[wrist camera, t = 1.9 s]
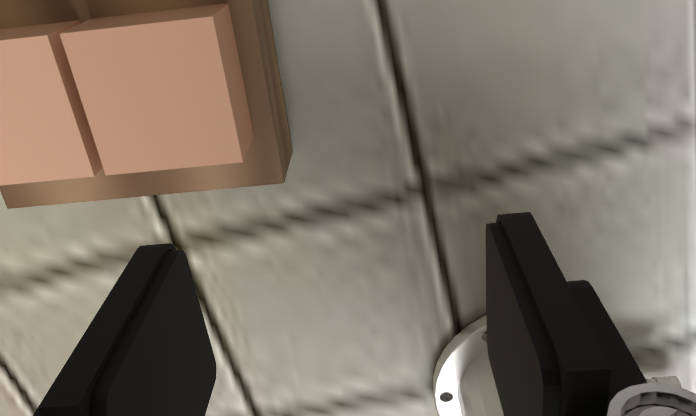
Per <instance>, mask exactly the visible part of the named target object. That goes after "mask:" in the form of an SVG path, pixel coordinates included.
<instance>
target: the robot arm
mask: <svg viewBox="0 0 696 416" xmlns="http://www.w3.org/2000/svg"><path fill="white" fill-rule="evenodd" d="M486 314H487V315H486V316H484V317H482V318H480V319H478V320H477V321H475V322H473V323H472V324H470V325H468V326H467V327H466V328H464V329H463V330H462V331H461V332H460V333H458V334H457V335H456V336H455V337H454V338H453V339H452V340H451V342H450V343H449V344H448V345H447V346H446V348H445V349H444V350H443V352H442V354H441V356H440V358H439V360H438V362H437V364H436V367H435V371H434V375H433V395H434V401H435V407H436V409H437V412H438V414H439V416H696V394H695V393H692V392H690V391H688V390H686V389H683V388H682V387H681V384H680V381H679V379H678V378H677V377H676V376H669V377H654V378H652V379H645V377H644V376H643V374H642V372H641V371H640V369H639V367H638V365H637V364H636V362H635V360H634V358H633V357H632V355H631V353H630V351H629V350H628V348H627V346H626V345H625V343H624V341H623V339H622V338H621V336H620V334H619V332H618V331H617V329H616V327H615V325H614V324H613V322H612V320H611V318H610V317H609V315H608V313H607V312H606V310H605V308H604V306H603V305H602V303H601V301H600V299H599V298H598V296H597V294H596V292H595V291H594V289H593V287H592V286H591V285H590V283H589V282H588V281H585V280H580V281H568V282H566V280H565V278H564V276H563V274H562V272H561V270H560V268H559V266H558V264H557V262H556V261H555V259H554V257H553V255H552V253H551V251H550V249H549V247H548V245H547V243H546V241H545V239H544V237H543V235H542V234H541V232H540V230H539V228H538V226H537V224H536V222H535V220H534V218H533V216H532V214H531V213H530V212H525V213H513V214H502V215H498V216H497V220H496V223H490V224H487V225H486ZM215 379H216V362H215V358H214V354H213V350H212V347H211V343H210V339H209V336H208V332H207V329H206V325H205V321H204V318H203V314H202V311H201V307H200V303H199V300H198V296H197V293H196V289H195V285H194V282H193V278H192V275H191V271H190V267H189V264H188V260H187V257H186V254H185V253H184V251H182V250H177V251H176V249H175V247H174V246H173V245H172V244H171V243H169V244H157V245H146V246H140V247H139V248H138V249H137V250H136V252H135V253H134V255H133V257H132V258H131V260H130V261H129V263H128V265H127V266H126V268H125V269H124V271H123V273H122V274H121V276H120V277H119V279H118V281H117V282H116V284H115V285H114V287H113V289H112V290H111V292H110V293H109V295H108V297H107V298H106V300H105V301H104V303H103V305H102V306H101V308H100V309H99V311H98V313H97V314H96V316H95V317H94V319H93V321H92V322H91V324H90V325H89V327H88V329H87V330H86V332H85V333H84V335H83V336H82V338H81V340H80V341H79V343H78V344H77V346H76V348H75V349H74V351H73V352H72V354H71V356H70V357H69V359H68V360H67V362H66V364H65V365H64V367H63V368H62V370H61V372H60V373H59V375H58V376H57V378H56V380H55V381H54V383H53V384H52V386H51V388H50V389H49V391H48V392H47V394H46V396H45V397H44V399H43V400H42V402H41V404H40V405H39V407H38V409H37V410H36V412H35V413H34V415H33V416H205V413H206V410H207V407H208V403H209V400H210V397H211V393H212V390H213V387H214V383H215Z"/></svg>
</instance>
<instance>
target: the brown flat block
mask: <svg viewBox="0 0 696 416" xmlns="http://www.w3.org/2000/svg"><path fill="white" fill-rule="evenodd" d="M225 3H228V5H229V10H230V15H231V20H232V25H233V30H234V35H235V41H236V46H237V51H238V56H239V61H240V66H241V71H242V76H243V82H244V87H245V92H246V97H247V102H248V107H249V112H250V117H251V123H252V128H253V133H254V138H253V141H252V143H251V145H250V147H249V150H248V152H247V154H246V157H245V159H244V161H243V162H241V163H231V164H220V165H210V166H200V167H189V168H179V169H168V170H158V171H147V172H137V173H126V174H116V175H105V172H104V169H103V168H102V169H101V170H100V171H99V172H98V173H97V174H96V175H95V176H94V177H85V178H74V179H64V180H53V181H43V182H32V183H22V184H11V185H1V186H0V192H1V194H2V196H3V199H4V201H5V204H6V206H7V208H8V209H10V208H20V207H31V206H42V205H53V204H63V203H74V202H85V201H96V200H107V199H117V198H128V197H139V196H150V195H160V194H171V193H182V192H193V191H204V190H214V189H225V188H236V187H247V186H257V185H268V184H279V183H284V181H285V177H286V174H287V170H288V166H289V163H290V159H291V155H292V145H291V139H290V133H289V127H288V121H287V115H286V109H285V103H284V97H283V91H282V85H281V79H280V73H279V67H278V61H277V55H276V49H275V43H274V37H273V31H272V25H271V19H270V13H269V7H268V1H267V0H0V29H7V28H16V27H25V26H33V25H42V24H51V23H59V22H68V21H77V20H79V21H80V24H81V23H83V22H85V21H87V20H89V19H94V18H103V17H112V16H120V15H129V14H138V13H147V12H155V11H164V10H173V9H181V8H190V7H199V6H207V5H216V4H225Z"/></svg>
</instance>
